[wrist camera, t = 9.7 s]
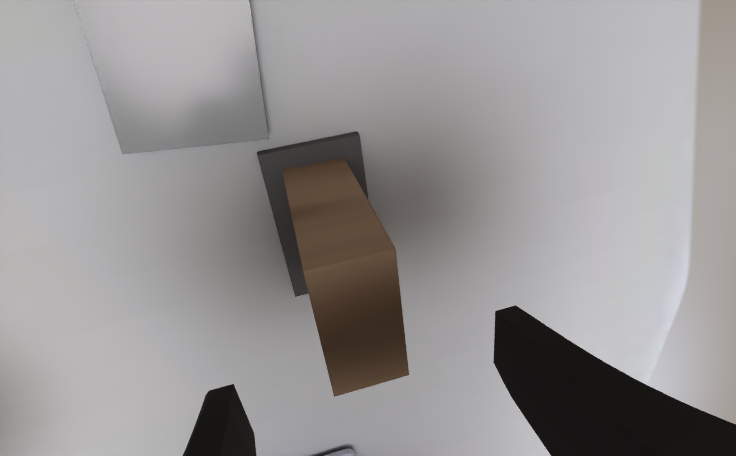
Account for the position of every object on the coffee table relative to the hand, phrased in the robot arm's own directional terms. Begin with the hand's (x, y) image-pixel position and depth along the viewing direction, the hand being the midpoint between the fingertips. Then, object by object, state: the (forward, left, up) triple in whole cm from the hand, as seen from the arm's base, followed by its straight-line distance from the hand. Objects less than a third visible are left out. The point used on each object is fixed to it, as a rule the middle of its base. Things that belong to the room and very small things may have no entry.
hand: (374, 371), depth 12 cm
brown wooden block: (0, 0, -8) cm, 8 cm away
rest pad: (0, 0, -9) cm, 9 cm away
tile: (+4, +4, -9) cm, 10 cm away
